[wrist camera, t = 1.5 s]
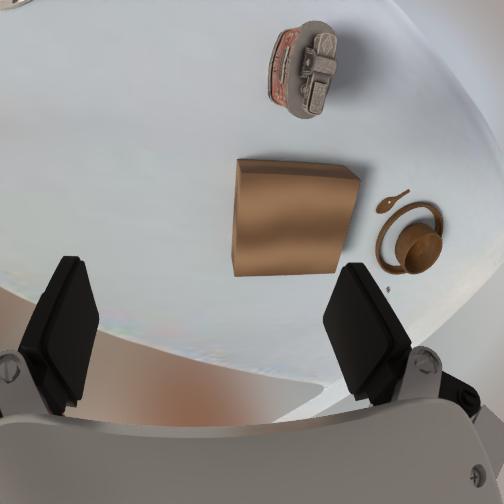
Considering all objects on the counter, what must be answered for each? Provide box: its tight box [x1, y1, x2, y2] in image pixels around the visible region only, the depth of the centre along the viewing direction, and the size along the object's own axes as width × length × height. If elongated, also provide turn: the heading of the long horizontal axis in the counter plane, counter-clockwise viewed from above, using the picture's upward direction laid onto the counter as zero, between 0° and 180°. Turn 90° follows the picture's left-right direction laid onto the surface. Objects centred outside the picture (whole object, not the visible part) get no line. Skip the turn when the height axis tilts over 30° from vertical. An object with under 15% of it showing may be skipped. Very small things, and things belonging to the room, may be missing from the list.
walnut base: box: [231, 159, 361, 277], centre depth 32 cm, size 12×12×4 cm
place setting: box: [376, 189, 443, 292], centre depth 38 cm, size 18×20×6 cm
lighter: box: [268, 21, 337, 119], centre depth 20 cm, size 8×3×10 cm, turn 171°
